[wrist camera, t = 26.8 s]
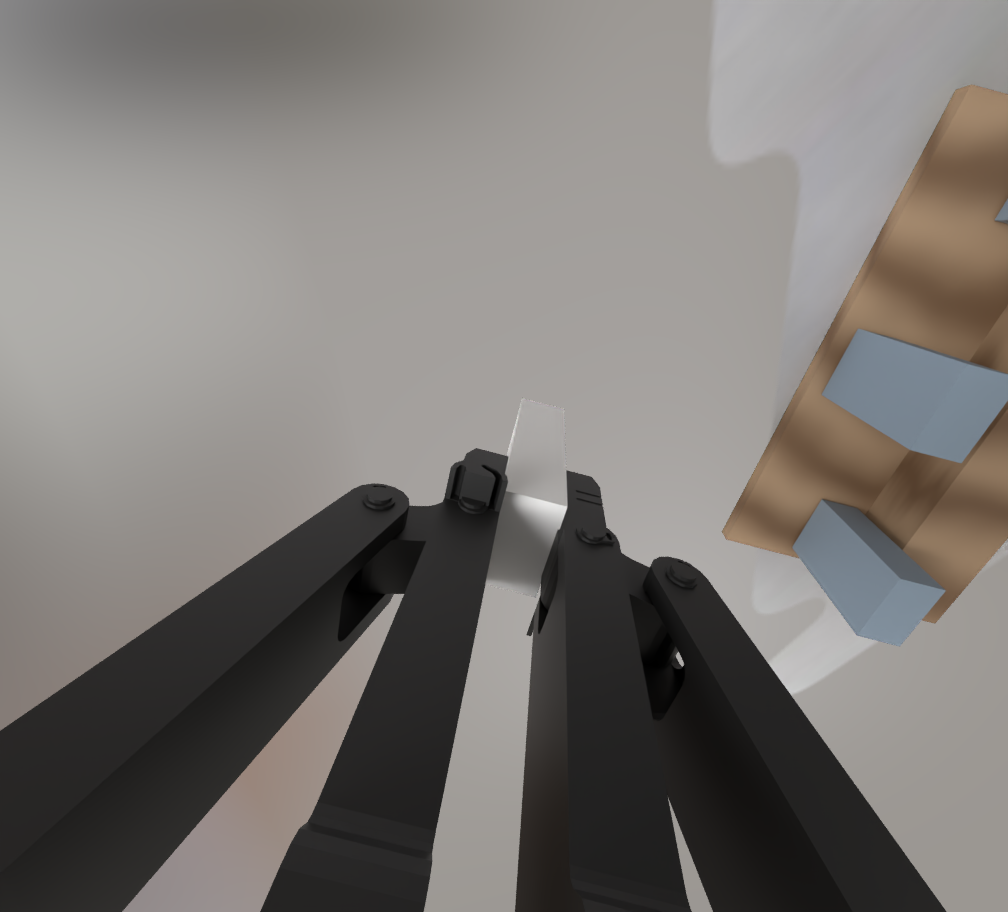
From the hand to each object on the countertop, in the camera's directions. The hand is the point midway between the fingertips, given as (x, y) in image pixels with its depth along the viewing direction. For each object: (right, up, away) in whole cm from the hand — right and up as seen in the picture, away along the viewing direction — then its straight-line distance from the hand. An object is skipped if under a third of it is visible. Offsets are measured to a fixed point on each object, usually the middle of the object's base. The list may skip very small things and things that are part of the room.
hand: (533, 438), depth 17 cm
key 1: (+26, -7, +23) cm, 35 cm away
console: (+30, +5, +19) cm, 36 cm away
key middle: (+25, +6, +18) cm, 31 cm away
